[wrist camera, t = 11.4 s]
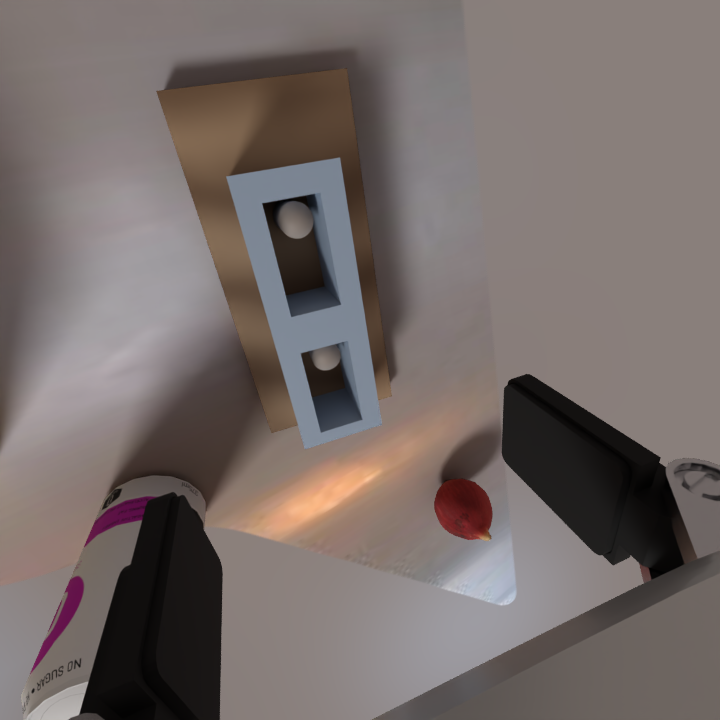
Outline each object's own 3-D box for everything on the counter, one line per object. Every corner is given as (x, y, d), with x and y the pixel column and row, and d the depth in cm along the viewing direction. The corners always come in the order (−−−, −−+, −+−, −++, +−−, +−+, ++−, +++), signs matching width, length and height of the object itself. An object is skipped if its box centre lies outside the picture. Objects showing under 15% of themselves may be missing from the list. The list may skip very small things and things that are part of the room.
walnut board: (161, 96, 22) (139, 70, 17) (340, 74, 24) (367, 46, 19) (270, 423, 33) (275, 463, 28) (385, 388, 35) (409, 420, 30)
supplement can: (89, 534, 32) (-12, 773, 19) (120, 459, 30) (31, 669, 17) (187, 546, 35) (158, 753, 22) (220, 480, 33) (209, 665, 20)
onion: (429, 510, 44) (466, 571, 37) (417, 479, 41) (454, 538, 34) (472, 487, 44) (515, 542, 37) (462, 455, 42) (507, 508, 35)
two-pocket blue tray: (228, 178, 23) (226, 176, 19) (321, 162, 24) (340, 157, 20) (295, 412, 31) (305, 449, 27) (362, 392, 32) (381, 424, 28)
